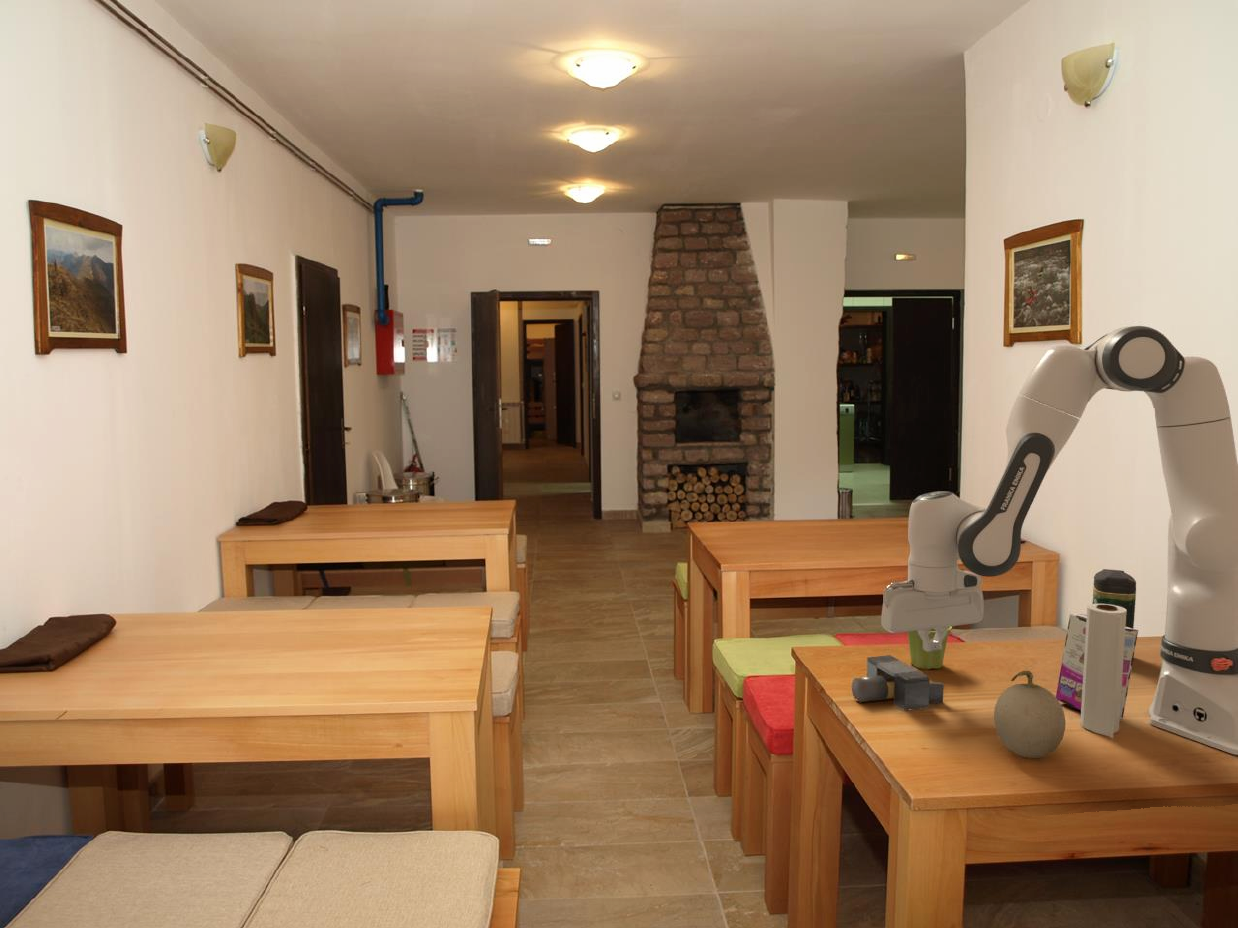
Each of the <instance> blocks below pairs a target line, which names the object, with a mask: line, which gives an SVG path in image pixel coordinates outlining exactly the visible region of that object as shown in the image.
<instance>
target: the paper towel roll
mask: <svg viewBox="0 0 1238 928" xmlns="http://www.w3.org/2000/svg"><path fill="white" fill-rule="evenodd" d="M1126 612H1127V610H1126V609H1125V608H1123V607H1120V606H1116V605H1110V604H1092V603H1090V604H1087V608H1086V615H1087V620H1086V637H1085V654H1084V671H1083V688H1082V705H1081V710H1080V725H1081V726H1082V727H1083V728H1085V729H1086V730H1089V731H1091V732H1092V733H1095V734H1099V735H1103V736H1106V737H1108V738H1111V739H1114V733H1117V732H1119V731H1120V721H1121V720H1120V705H1121V689H1122V674H1123V658H1124V643H1125V627H1126Z"/></svg>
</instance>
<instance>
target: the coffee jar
mask: <svg viewBox="0 0 1238 928" xmlns="http://www.w3.org/2000/svg"><path fill="white" fill-rule="evenodd" d="M1136 597H1137V582H1136V580H1135V578H1134V577H1133V576H1131V574H1129V573H1127V572H1125V571H1124V570H1118V569H1109V568H1108V569H1107V568H1105V569H1104V568H1103V569H1102V570H1100V571H1098V572H1096V573H1095V574H1094V576H1093V589H1092V603H1091V604H1110V605H1116V606H1120V607H1123V608H1125V609H1126V610H1127V612H1126V627H1129V628H1132V629H1135V627H1134V625H1135V613H1136V612H1135V611H1136Z"/></svg>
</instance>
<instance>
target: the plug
mask: <svg viewBox="0 0 1238 928" xmlns="http://www.w3.org/2000/svg"><path fill="white" fill-rule="evenodd" d="M894 685H895V681H893V682H886V680H885V678H884V677H883V676H871V677H867V676H863V677H856V678H853V680H852V682H851V692H852V696H853V698H854V700H855V699H857V700H858V701H860V702H859V703H864V702H865V703H866V702H876V701H883V700H889V699H894Z"/></svg>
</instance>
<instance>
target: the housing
mask: <svg viewBox="0 0 1238 928" xmlns="http://www.w3.org/2000/svg"><path fill="white" fill-rule="evenodd" d="M871 676H883V677H884V678H885V680H886V682H893V681H895V685H894V698H893V705H895V706H896V705H897V706H896V707H898V708H900V709H901V708H902V709H901V710H903V709H904V710H906V711H910V710H909V709H914V710H919V709H920V708H922V709H929V707H930V706H929V705H930V704H929V703H933V704H944V688H945V687H944V684H945V683H944V682H935V681H934V682H933V681H930V679H931V677H930V675H927V674H925V673H924V672H922V671H919V670H918V669H916V668H915V666H913V665H909V664H907V663H905V662H903V661H902V660H900V659H898V658H896V657H894V656H893V655H891V654H888V655H878V656H877V655H876V656H869V657H868V656H867V661H866V677H871ZM904 710H903V711H904Z"/></svg>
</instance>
